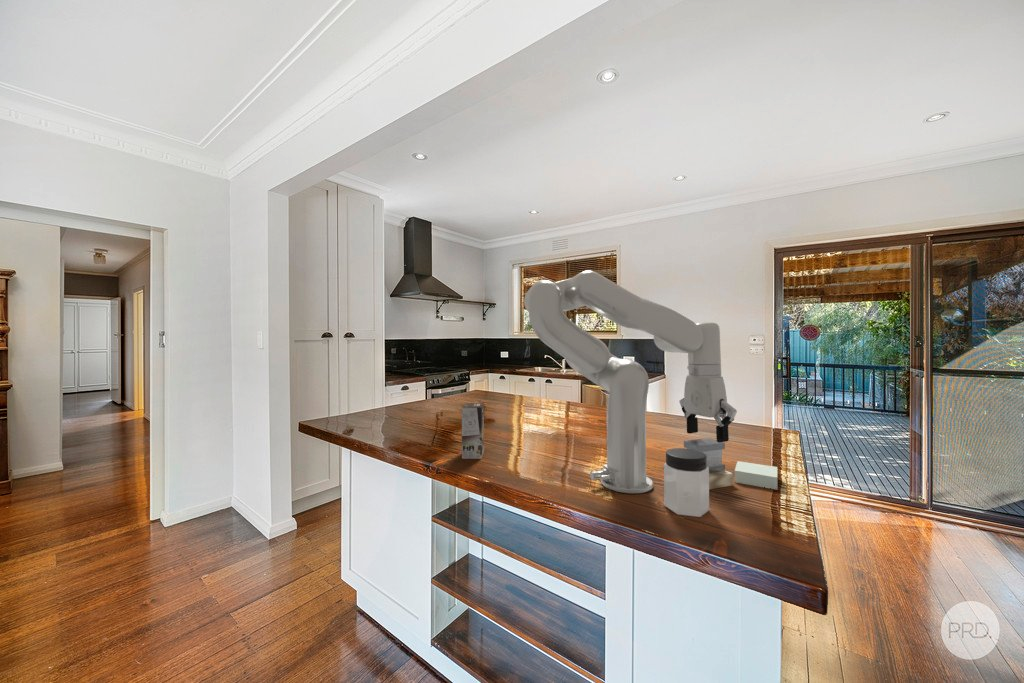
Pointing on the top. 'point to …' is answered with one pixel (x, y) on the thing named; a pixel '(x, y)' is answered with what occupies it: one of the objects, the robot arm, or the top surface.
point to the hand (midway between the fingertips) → (706, 437)
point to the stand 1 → (720, 479)
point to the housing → (709, 452)
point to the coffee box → (472, 430)
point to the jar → (686, 482)
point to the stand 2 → (756, 475)
